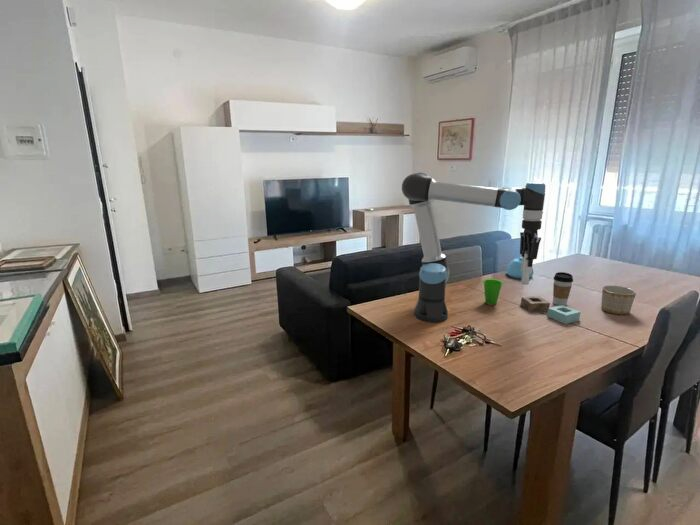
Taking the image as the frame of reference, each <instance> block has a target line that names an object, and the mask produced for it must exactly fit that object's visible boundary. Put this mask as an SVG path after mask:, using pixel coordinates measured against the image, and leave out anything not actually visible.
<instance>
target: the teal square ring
mask: <svg viewBox="0 0 700 525" xmlns="http://www.w3.org/2000/svg"><path fill="white" fill-rule="evenodd" d="M546 314H547V315H546V316H547V317H548V318H550V319H553V320H554V321H557V322H560V323H561V324H564V325H566V323H567V324H570V323H574V322H578V321H580V320H581V318H580V317H581V311H579V310H577V309H574V308H572V307H568V306H566V305H565V306H564V305H555V306H551V307H549V308H548V311H547V313H546Z"/></svg>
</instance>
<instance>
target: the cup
mask: <svg viewBox="0 0 700 525" xmlns="http://www.w3.org/2000/svg"><path fill="white" fill-rule="evenodd" d="M482 282H483V284H484V286H483V287H484V300H485V304H487V305H493V306H494V305H496V304H497V302H498V300H499V295H500V292H501V288H502V285H503V284H504V283H503V281H501V280H499V279H493V278H487V279H484V280H482Z"/></svg>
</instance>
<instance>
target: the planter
mask: <svg viewBox="0 0 700 525" xmlns="http://www.w3.org/2000/svg"><path fill="white" fill-rule="evenodd" d="M601 292H602V294H601V303H600V304H601V309H602V310H603V311H604V312H606V313H608V312H609V313H608V314H612V313H613V315H617V314H620V315H619V316H624V314H626V315H628V314H630V312H631V310H632V306H633V304H634V300H635V298H636V293H637V291H636V290H634V289H632V288H629V287H624V286H621V285H612V284H611V285H603V287H602V291H601Z"/></svg>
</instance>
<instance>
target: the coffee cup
mask: <svg viewBox="0 0 700 525" xmlns="http://www.w3.org/2000/svg"><path fill="white" fill-rule="evenodd" d="M573 282H574V278H573V275H572V274H571V273H568V272H564V271H563V272H562V271H558V272H556V273H555V274H554V277H553V293H552V294H553V295H552V296H553V297H552V304H554V305H555V306H560V305H564V306H566V305H567V304H568V300H569V296H570V293H571V289H572V283H573Z"/></svg>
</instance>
